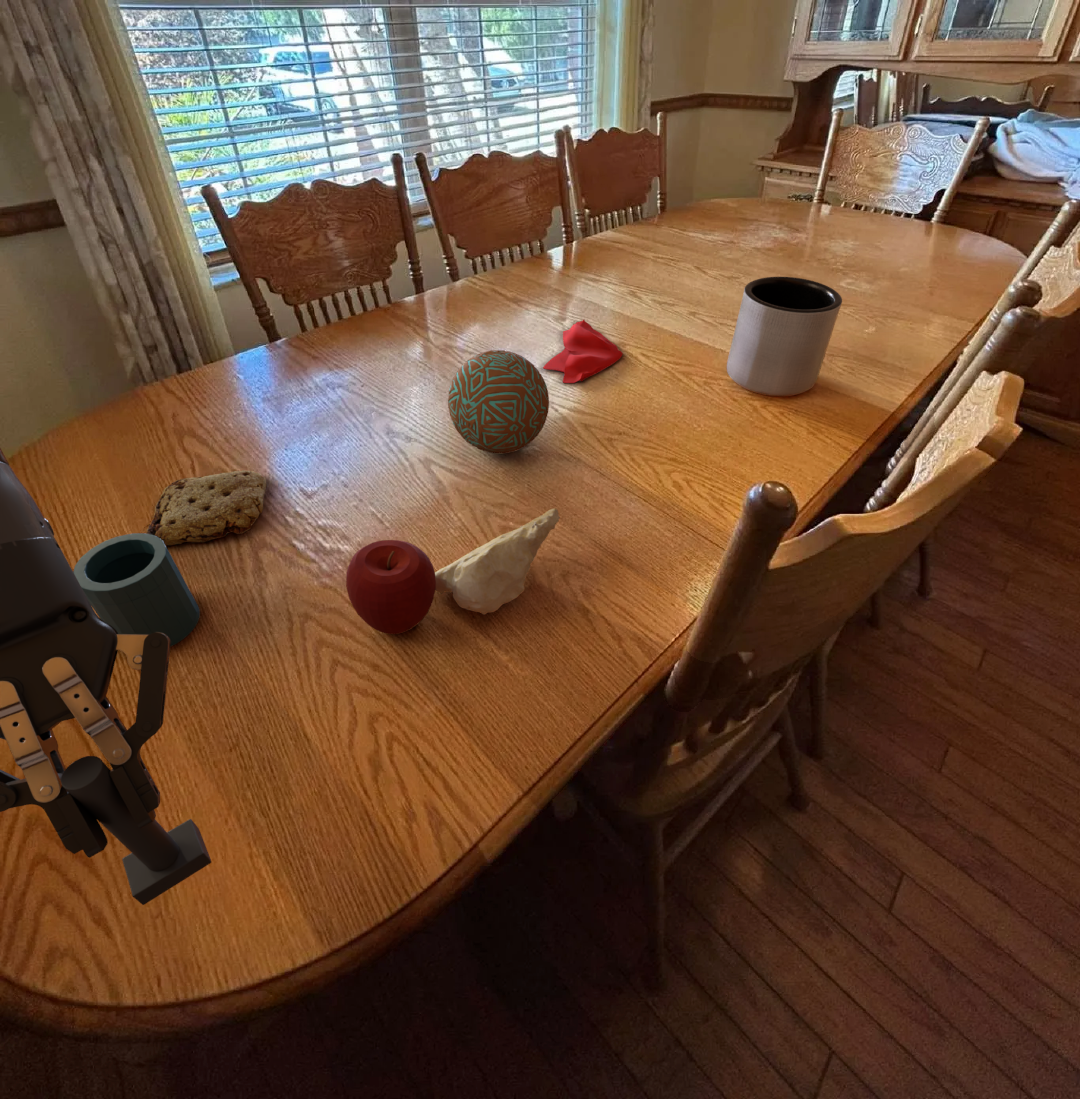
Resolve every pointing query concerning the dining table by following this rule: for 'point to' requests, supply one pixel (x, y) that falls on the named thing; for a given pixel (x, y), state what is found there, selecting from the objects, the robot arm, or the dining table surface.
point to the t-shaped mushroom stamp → (137, 833)
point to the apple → (391, 585)
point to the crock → (138, 587)
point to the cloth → (583, 353)
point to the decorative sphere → (498, 401)
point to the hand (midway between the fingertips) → (124, 834)
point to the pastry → (208, 507)
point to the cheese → (496, 567)
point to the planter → (782, 335)
